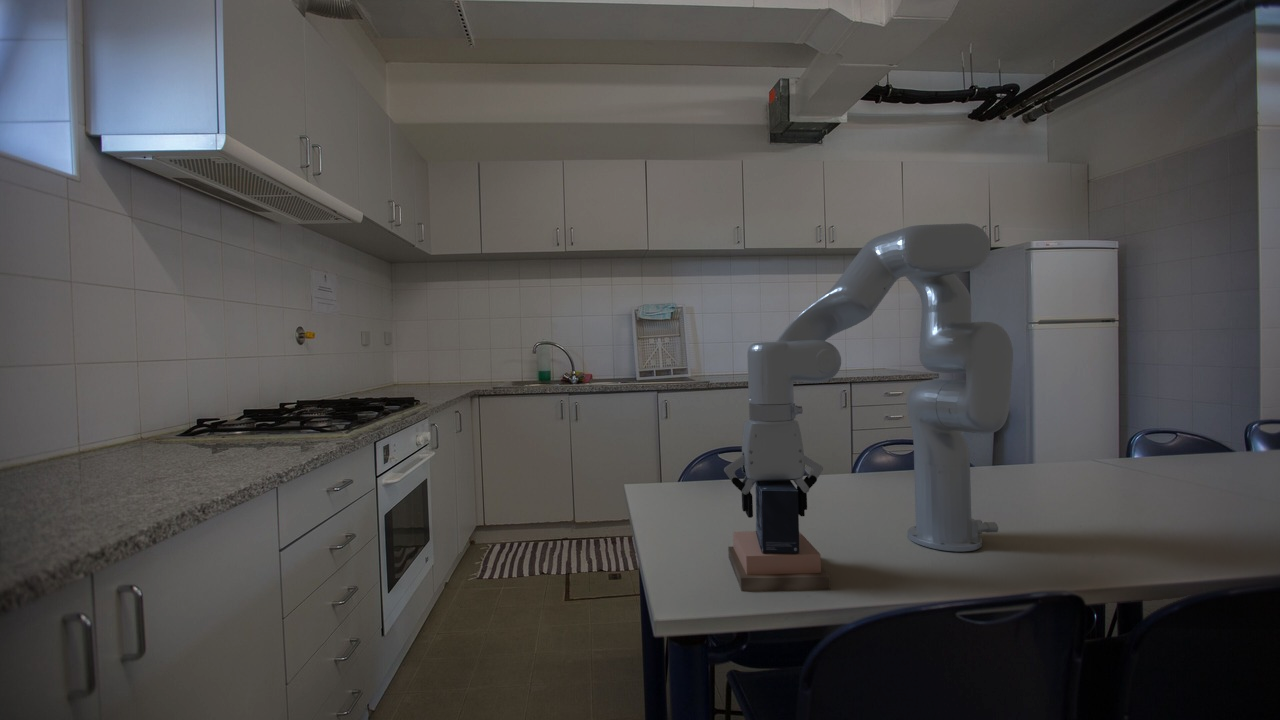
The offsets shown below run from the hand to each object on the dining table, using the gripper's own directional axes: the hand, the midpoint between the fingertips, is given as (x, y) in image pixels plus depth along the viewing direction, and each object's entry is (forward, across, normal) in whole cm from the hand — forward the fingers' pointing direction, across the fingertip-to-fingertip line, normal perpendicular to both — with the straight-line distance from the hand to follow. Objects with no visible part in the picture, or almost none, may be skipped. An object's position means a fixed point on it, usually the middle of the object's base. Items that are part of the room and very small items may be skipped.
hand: (774, 514), depth 90 cm
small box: (+5, 0, 0) cm, 5 cm away
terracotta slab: (+8, 0, 0) cm, 8 cm away
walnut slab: (+11, 0, 0) cm, 11 cm away
